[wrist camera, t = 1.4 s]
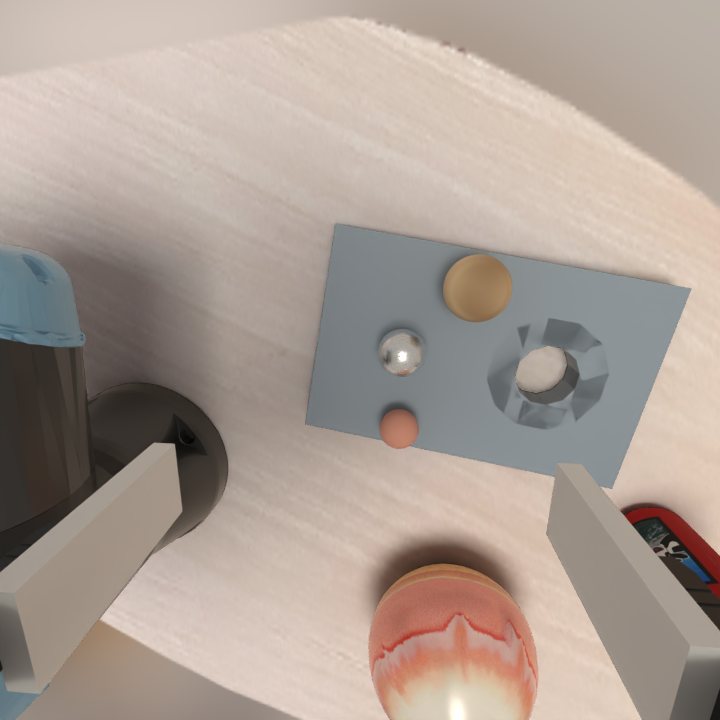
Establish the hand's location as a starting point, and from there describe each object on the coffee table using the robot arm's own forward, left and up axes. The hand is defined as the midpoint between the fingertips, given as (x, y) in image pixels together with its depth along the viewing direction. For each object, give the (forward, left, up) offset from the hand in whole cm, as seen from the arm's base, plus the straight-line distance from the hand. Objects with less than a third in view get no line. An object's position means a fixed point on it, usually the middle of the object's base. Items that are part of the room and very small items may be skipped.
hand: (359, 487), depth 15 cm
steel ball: (+1, +1, -17) cm, 17 cm away
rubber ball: (+2, -5, -17) cm, 18 cm away
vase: (+10, -23, -22) cm, 33 cm away
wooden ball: (+5, +6, -17) cm, 18 cm away
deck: (+7, +1, -21) cm, 23 cm away
